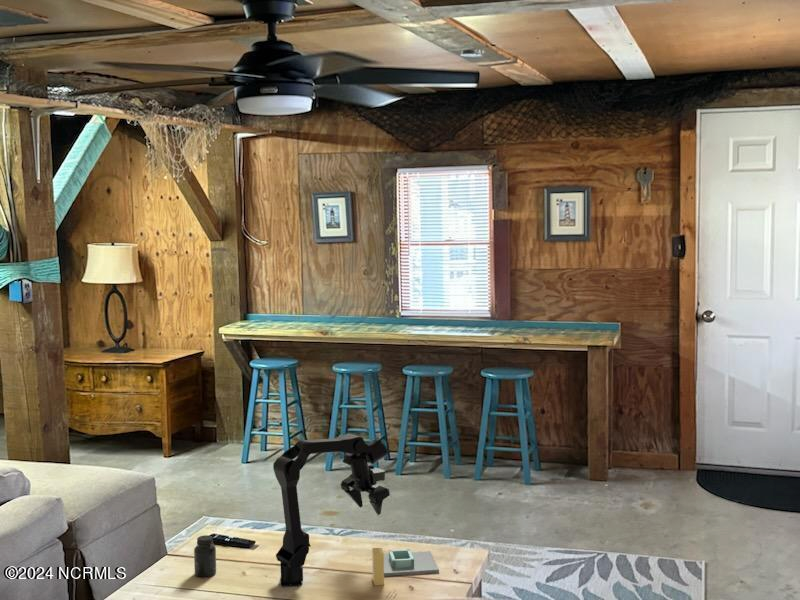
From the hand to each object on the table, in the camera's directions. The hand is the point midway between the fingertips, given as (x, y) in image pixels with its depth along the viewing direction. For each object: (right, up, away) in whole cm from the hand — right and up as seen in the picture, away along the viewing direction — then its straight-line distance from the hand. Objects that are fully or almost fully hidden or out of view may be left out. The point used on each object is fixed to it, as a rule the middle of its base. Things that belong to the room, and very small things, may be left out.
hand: (370, 510), depth 298 cm
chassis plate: (+12, -16, -6) cm, 21 cm away
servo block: (+3, -18, -19) cm, 26 cm away
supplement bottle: (-52, -18, -12) cm, 57 cm away
